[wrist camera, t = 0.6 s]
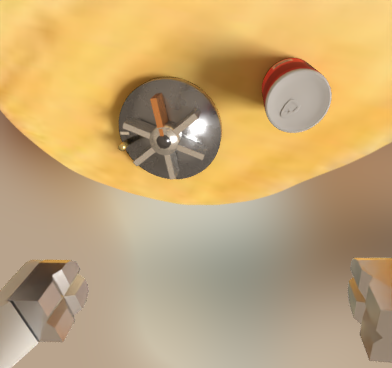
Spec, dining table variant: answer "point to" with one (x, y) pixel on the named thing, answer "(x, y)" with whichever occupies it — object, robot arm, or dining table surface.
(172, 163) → the finned rotor disc
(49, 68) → the dining table surface
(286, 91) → the canned food
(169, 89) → the disc
